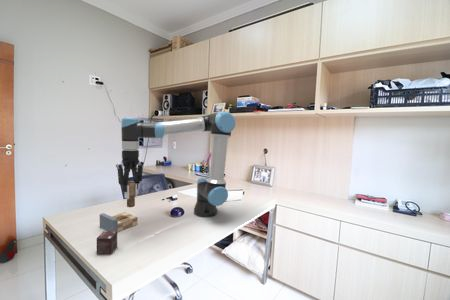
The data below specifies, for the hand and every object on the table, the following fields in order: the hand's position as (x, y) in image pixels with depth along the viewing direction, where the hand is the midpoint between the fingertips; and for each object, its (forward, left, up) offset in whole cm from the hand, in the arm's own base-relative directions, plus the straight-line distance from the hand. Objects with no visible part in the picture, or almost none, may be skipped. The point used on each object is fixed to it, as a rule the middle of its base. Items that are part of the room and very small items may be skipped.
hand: (130, 197), depth 103 cm
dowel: (0, 0, -5) cm, 5 cm away
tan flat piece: (+11, -2, -18) cm, 21 cm away
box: (-5, +14, -19) cm, 25 cm away
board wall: (+11, -6, -19) cm, 23 cm away
